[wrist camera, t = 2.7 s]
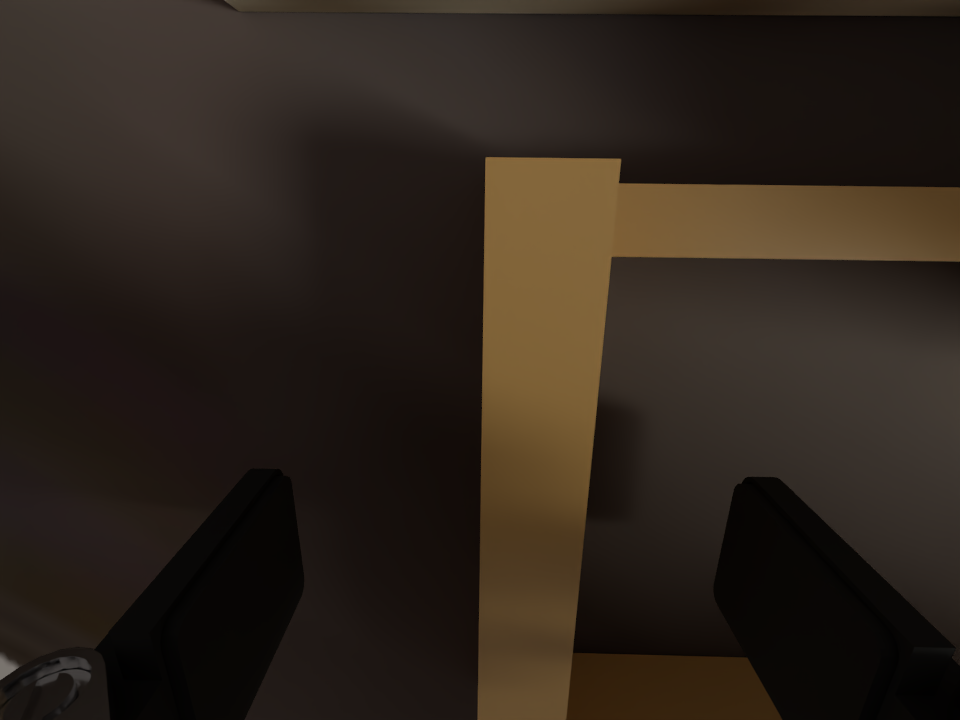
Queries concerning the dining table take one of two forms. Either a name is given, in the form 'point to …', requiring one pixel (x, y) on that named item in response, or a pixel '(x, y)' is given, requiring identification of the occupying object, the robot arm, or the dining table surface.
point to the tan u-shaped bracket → (574, 393)
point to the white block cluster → (615, 7)
